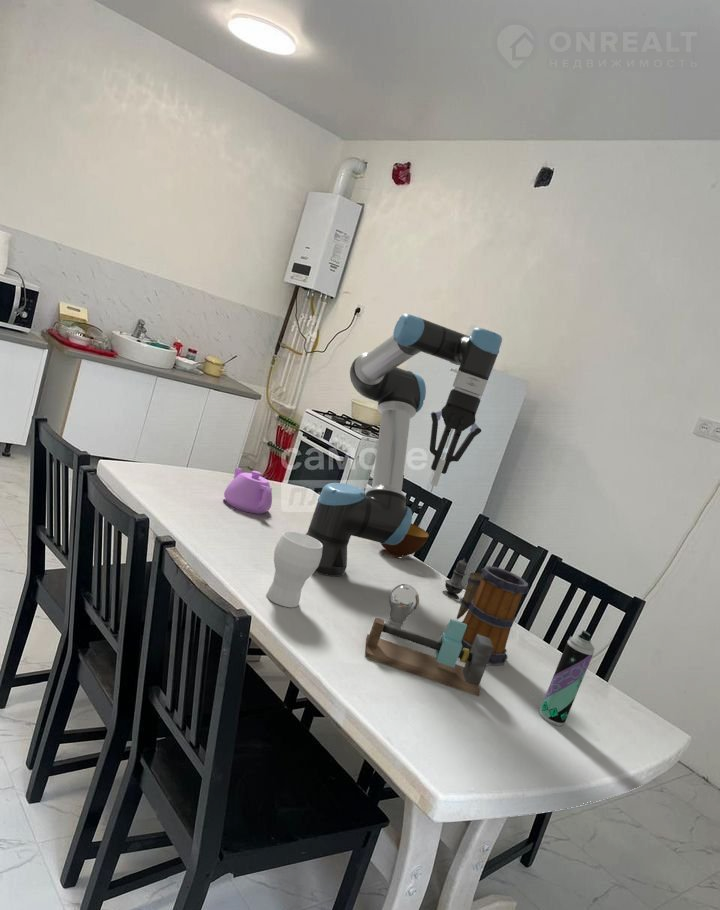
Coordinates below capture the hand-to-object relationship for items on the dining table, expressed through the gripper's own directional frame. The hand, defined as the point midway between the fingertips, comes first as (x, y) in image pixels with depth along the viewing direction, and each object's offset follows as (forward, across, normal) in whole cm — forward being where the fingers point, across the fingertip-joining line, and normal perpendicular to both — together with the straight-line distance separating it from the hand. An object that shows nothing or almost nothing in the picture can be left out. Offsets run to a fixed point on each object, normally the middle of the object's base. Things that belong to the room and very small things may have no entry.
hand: (433, 484), depth 169 cm
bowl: (+35, +2, +55) cm, 65 cm away
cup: (+35, -25, -16) cm, 46 cm away
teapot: (+35, -48, +52) cm, 79 cm away
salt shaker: (+35, +20, +32) cm, 51 cm away
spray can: (+35, +36, -30) cm, 58 cm away
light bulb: (+35, +1, -12) cm, 37 cm away
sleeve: (+31, +12, -26) cm, 42 cm away
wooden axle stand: (+34, +8, -26) cm, 44 cm away
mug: (+35, +22, -3) cm, 41 cm away
